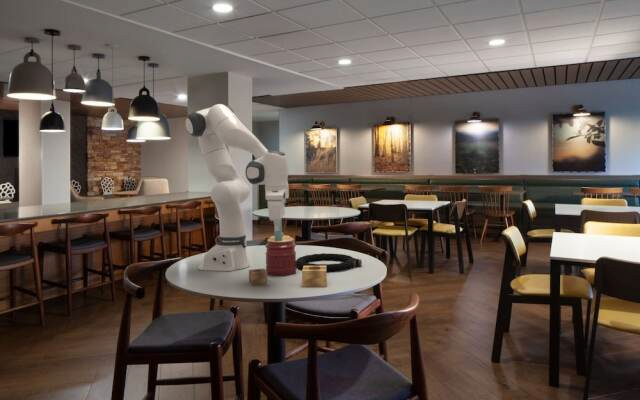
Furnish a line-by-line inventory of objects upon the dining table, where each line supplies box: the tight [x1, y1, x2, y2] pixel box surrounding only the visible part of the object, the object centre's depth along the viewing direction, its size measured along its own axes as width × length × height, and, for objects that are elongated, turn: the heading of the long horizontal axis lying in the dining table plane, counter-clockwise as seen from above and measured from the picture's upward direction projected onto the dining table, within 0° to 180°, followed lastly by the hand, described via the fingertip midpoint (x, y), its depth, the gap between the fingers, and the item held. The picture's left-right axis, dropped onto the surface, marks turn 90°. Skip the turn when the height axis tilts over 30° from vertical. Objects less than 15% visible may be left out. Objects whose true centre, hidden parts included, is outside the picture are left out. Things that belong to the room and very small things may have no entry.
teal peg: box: [273, 217, 283, 241], centre depth 175 cm, size 3×3×11 cm
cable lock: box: [296, 253, 362, 273], centre depth 207 cm, size 28×4×30 cm
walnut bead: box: [248, 268, 268, 287], centre depth 178 cm, size 6×6×5 cm
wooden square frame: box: [301, 265, 328, 288], centre depth 177 cm, size 9×9×6 cm
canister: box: [264, 231, 297, 277], centre depth 195 cm, size 13×13×18 cm
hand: (277, 229), depth 175 cm, fingers closed on teal peg, 3 cm apart
